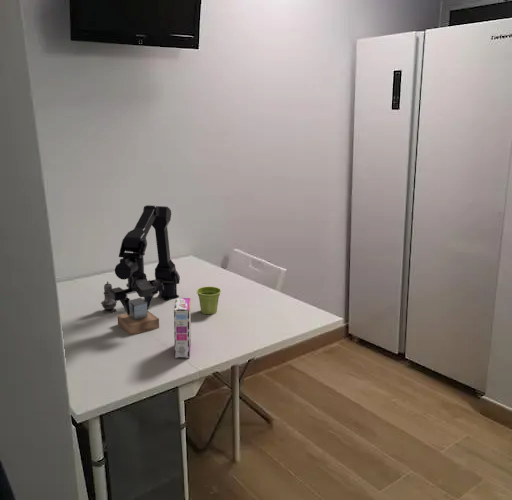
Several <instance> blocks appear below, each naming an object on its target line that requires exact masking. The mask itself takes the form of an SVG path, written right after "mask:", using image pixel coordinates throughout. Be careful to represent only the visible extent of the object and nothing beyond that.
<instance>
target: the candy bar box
mask: <svg viewBox="0 0 512 500" xmlns="http://www.w3.org/2000/svg"><path fill="white" fill-rule="evenodd" d="M191 308H192V307H191V298H190V297H181V298H179V297H176V299H175V302H174V308H173V321H174V322H173V323H174V324H173V325H174V327H173V329H174V332H173V333H174V359H190V358H191V357H190V356H191V345H192V338H191V337H192V333H191V332H192V331H191V330H192V329H191V328H192V327H191V326H192V324H191V323H192V322H191V320H192V317H191V315H192V313H191Z"/></svg>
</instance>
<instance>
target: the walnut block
mask: <svg viewBox="0 0 512 500" xmlns="http://www.w3.org/2000/svg"><path fill="white" fill-rule="evenodd" d="M147 315H148V318H144V319H140V320H136V321H134V320H133V319H131V318H130V317H128V314H127V313H126V312H125V313H124V314H123V313H122V314H119V315H116V316H117V325H118V326H119V327H120V328H121V329H122V330H123V331H125V332H126V333H127V334H128V335H129V336H132V335H135V334H136V335H137V334H140V333H144V332H148V331H152V330H156V329H159V328H160V318H159V317H157V316H156V315H155V314H154V313H151V311H149V309H148V310H147Z"/></svg>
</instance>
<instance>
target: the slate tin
mask: <svg viewBox="0 0 512 500" xmlns="http://www.w3.org/2000/svg"><path fill="white" fill-rule="evenodd" d="M129 309H130V315H128V317H130V318H131V319H133V320H134V321H136V320H140V319H144V318H148V315H147V301H145V300H144V298H143V297H136V298H133V299H132V298H131V299H130V300H129Z"/></svg>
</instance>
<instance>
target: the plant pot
mask: <svg viewBox="0 0 512 500" xmlns="http://www.w3.org/2000/svg"><path fill="white" fill-rule="evenodd" d="M221 293H222V289H221V288H219V287H217V286H203V287H199V288H197V289H196V294H197V296H198V300H199V307H200V312H201V313H202V314H204V315H210V314H212V315H213V314H216V313H217V312H218V305H219V299H220V295H221Z"/></svg>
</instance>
